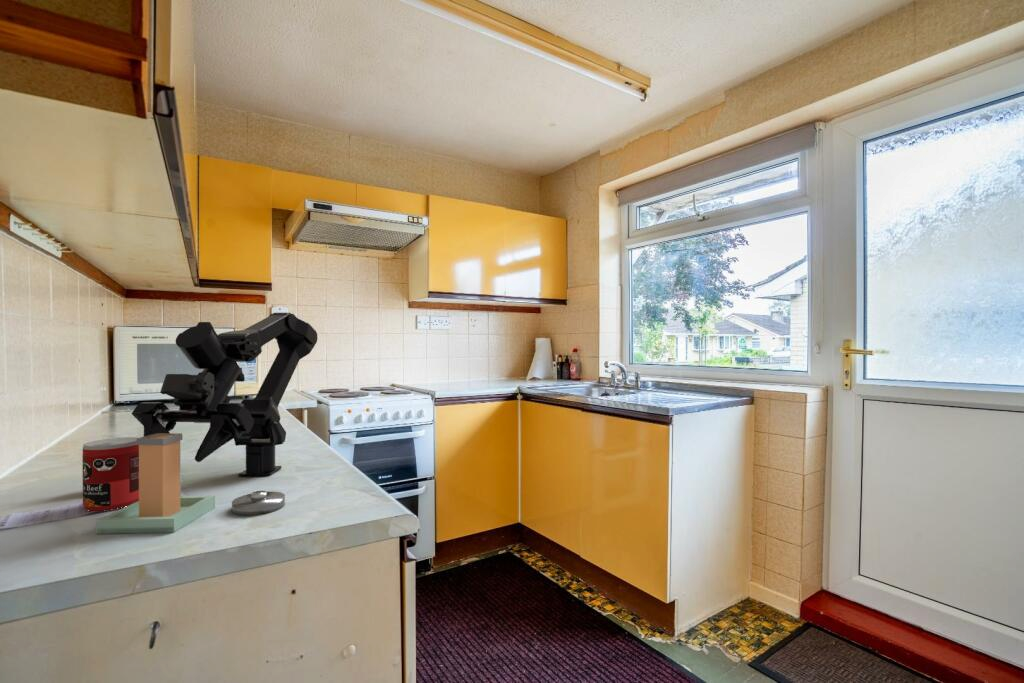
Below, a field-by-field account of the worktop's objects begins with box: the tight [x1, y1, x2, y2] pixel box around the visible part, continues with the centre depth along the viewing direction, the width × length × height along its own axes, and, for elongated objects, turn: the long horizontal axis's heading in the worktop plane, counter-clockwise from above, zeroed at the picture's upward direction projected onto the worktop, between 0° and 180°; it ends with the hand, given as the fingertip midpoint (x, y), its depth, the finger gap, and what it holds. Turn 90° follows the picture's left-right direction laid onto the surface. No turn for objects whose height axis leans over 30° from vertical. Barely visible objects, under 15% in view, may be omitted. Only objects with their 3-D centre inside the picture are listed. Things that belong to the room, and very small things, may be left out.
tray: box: [96, 495, 216, 535], centre depth 78 cm, size 11×11×2 cm
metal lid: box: [231, 490, 286, 517], centre depth 83 cm, size 8×8×2 cm
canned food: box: [82, 436, 139, 512], centre depth 85 cm, size 8×8×11 cm
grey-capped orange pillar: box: [137, 432, 183, 517], centre depth 78 cm, size 4×4×12 cm
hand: (169, 460), depth 80 cm, fingers open, 9 cm apart
